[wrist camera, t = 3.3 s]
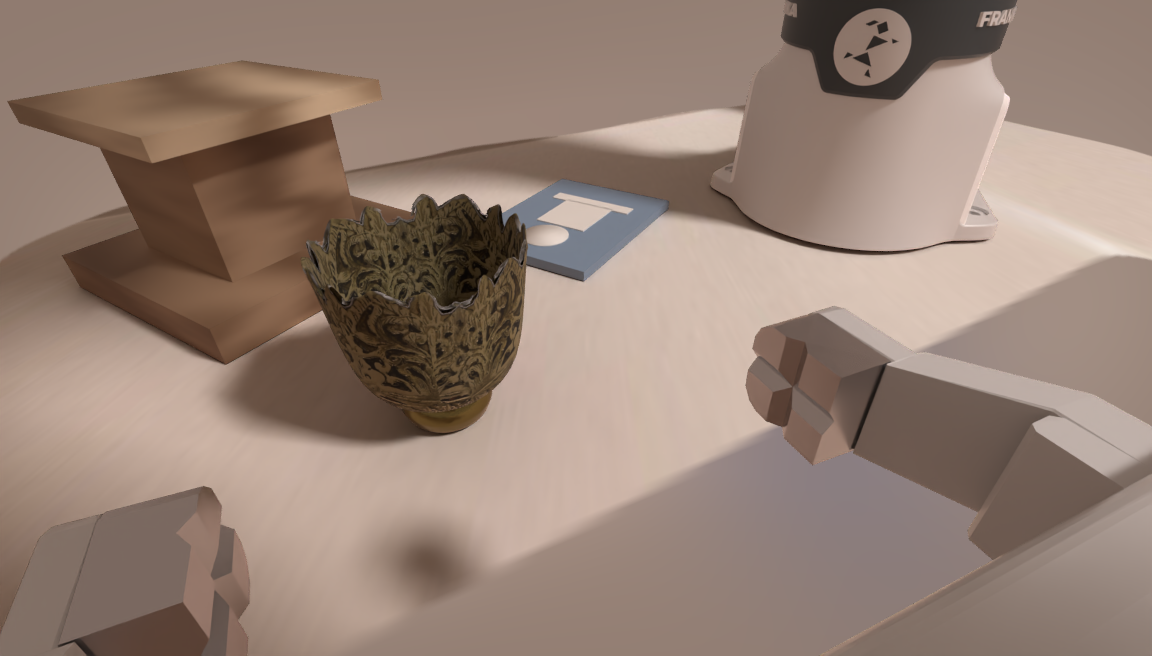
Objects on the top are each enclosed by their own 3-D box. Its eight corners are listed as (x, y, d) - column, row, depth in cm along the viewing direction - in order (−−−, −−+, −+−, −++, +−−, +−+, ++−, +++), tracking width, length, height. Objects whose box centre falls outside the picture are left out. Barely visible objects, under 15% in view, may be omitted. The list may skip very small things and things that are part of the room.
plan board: (562, 186, 45) (562, 177, 44) (668, 208, 41) (668, 199, 40) (462, 245, 36) (461, 235, 36) (584, 281, 32) (583, 270, 32)
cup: (372, 507, 20) (308, 315, 15) (345, 383, 25) (292, 214, 21) (567, 438, 22) (562, 256, 18) (504, 339, 28) (488, 181, 23)
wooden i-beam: (293, 203, 42) (247, 56, 36) (434, 246, 36) (405, 78, 30) (80, 286, 32) (-29, 103, 27) (225, 364, 26) (126, 148, 21)
